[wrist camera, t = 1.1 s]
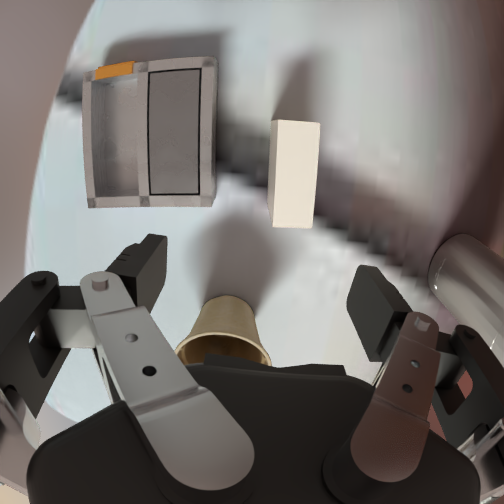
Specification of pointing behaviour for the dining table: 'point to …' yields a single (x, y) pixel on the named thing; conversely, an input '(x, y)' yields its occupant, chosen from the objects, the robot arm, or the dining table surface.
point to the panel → (292, 172)
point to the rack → (151, 133)
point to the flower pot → (223, 333)
